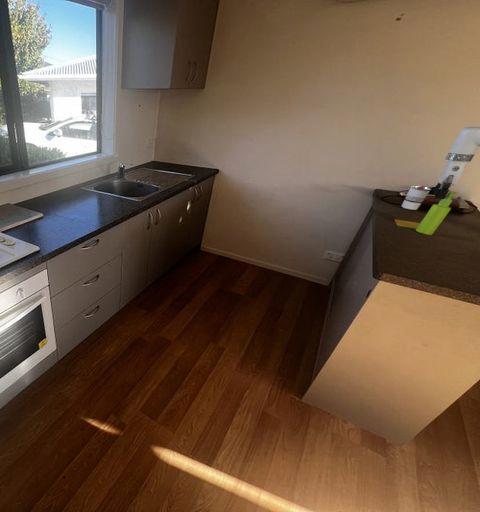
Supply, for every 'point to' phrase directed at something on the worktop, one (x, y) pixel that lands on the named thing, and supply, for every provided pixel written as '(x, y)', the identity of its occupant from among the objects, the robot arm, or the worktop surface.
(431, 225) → the soap dispenser
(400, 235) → the worktop surface
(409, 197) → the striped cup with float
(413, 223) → the cloth
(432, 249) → the worktop surface
